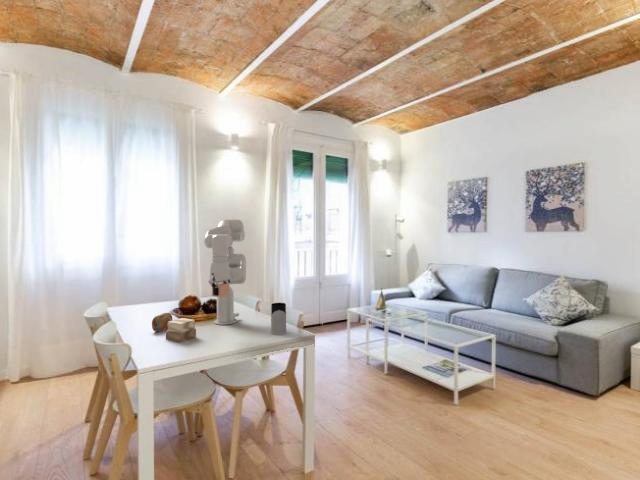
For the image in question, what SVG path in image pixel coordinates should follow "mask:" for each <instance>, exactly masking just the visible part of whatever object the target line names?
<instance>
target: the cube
mask: <svg viewBox="0 0 640 480" xmlns="http://www.w3.org/2000/svg"><path fill="white" fill-rule="evenodd" d="M215 285H216V283H215ZM229 286H230V284H227V283H218V287H217V288H218V293H219V295H218V296H215V295H213V288H212V287H211V297H215V298H217V297H224V296H228V295H229Z"/></svg>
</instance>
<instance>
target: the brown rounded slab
mask: <svg viewBox="0 0 640 480" xmlns="http://www.w3.org/2000/svg"><path fill="white" fill-rule="evenodd" d="M169 321H173V316H172V313H170V312H164V313H161V314H159V315H156V316H154V317H153V319H152V321H151V327H152V330H153V332H155V333H156V332H159V333H160V332H163V331H166V330H168V322H169Z"/></svg>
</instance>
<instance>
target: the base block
mask: <svg viewBox="0 0 640 480" xmlns="http://www.w3.org/2000/svg"><path fill="white" fill-rule="evenodd" d="M196 338H197V329H196V328H195V329H193V330H189V331H186V332H183V333H177V332H171V331H168V330H165V340H167V341H171V342H176V343H182V342H186V341H189V340H191V339H192V340H193V339H196Z"/></svg>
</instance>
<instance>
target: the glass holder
mask: <svg viewBox="0 0 640 480" xmlns="http://www.w3.org/2000/svg"><path fill="white" fill-rule="evenodd" d="M286 305H287V304H286V303H285V302H272V303H271V310H270V311H271V313H270V318H271V319H270V332H269V333H270V335H272V336H273V335H274V336H282V335H286V334H288V331H287V311H286V309H287V306H286Z"/></svg>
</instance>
